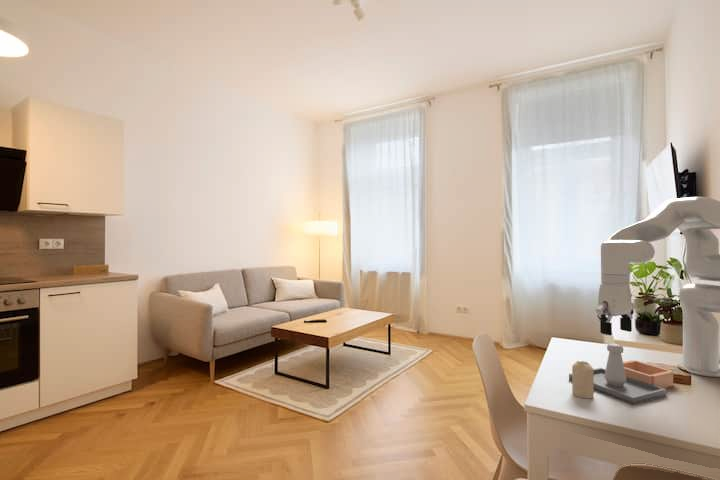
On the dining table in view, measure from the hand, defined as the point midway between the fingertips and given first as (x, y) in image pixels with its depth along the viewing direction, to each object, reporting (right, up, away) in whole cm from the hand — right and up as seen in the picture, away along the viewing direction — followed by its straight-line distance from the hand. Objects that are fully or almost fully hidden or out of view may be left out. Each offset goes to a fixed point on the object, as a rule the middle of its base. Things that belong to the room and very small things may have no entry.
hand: (616, 332), depth 116 cm
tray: (-1, -18, 0) cm, 18 cm away
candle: (-14, -18, -6) cm, 24 cm away
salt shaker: (0, -17, 0) cm, 17 cm away
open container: (+12, -18, +5) cm, 22 cm away
